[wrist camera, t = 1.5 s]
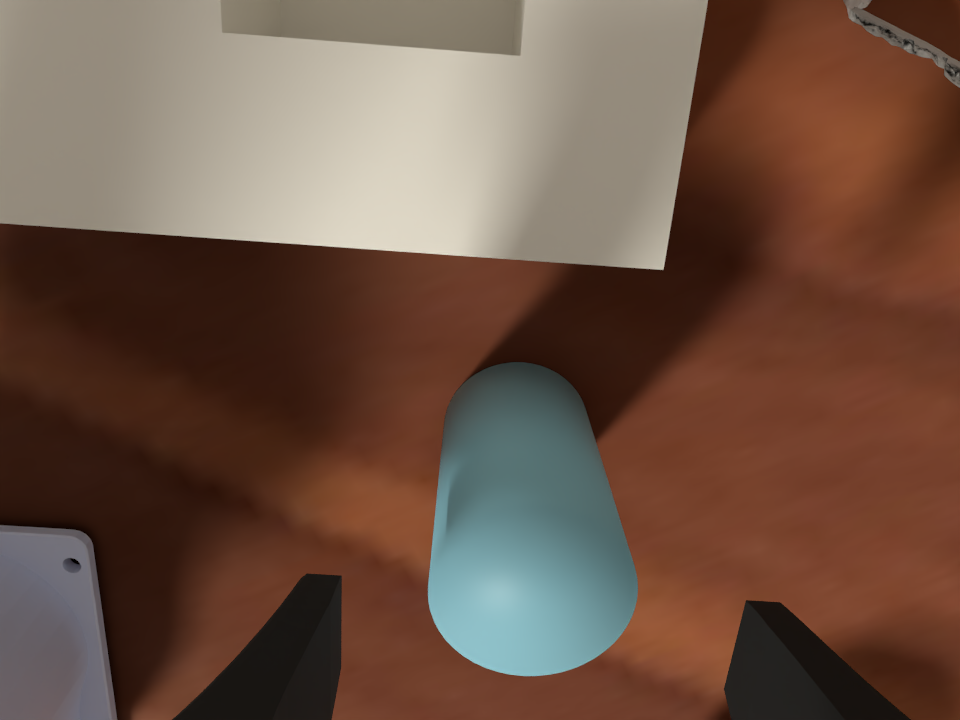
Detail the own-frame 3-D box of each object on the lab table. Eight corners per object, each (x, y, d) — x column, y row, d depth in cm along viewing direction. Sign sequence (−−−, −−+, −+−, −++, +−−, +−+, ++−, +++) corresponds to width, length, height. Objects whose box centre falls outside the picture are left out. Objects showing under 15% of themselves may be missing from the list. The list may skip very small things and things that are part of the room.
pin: (578, 495, 22) (621, 681, 15) (440, 486, 21) (423, 669, 15) (596, 367, 20) (652, 511, 14) (447, 357, 20) (433, 498, 14)
